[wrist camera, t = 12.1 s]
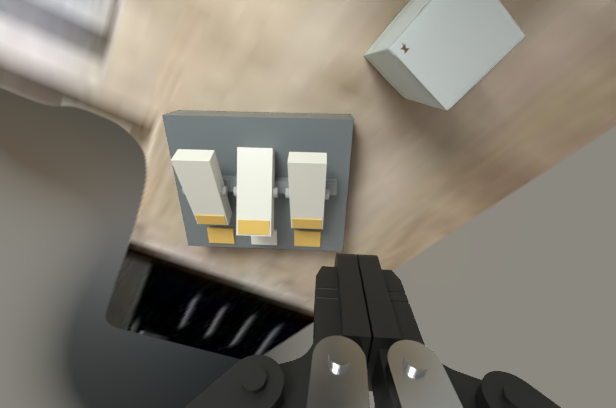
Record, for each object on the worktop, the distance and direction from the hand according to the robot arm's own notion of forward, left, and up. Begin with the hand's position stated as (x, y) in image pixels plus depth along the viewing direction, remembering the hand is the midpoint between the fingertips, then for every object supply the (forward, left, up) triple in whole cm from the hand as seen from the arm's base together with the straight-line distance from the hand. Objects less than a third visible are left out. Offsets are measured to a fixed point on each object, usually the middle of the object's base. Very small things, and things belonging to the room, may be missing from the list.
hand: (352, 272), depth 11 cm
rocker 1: (+6, -15, -21) cm, 26 cm away
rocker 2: (+6, -3, -21) cm, 22 cm away
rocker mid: (+6, -9, -22) cm, 25 cm away
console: (+7, -9, -28) cm, 30 cm away
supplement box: (-9, +8, -29) cm, 31 cm away
